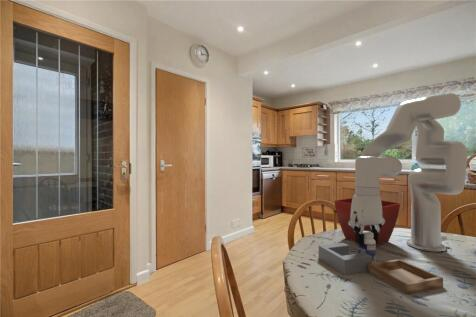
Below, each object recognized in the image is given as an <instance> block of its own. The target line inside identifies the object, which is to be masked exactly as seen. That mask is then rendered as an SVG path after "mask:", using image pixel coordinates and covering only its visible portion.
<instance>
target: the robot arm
mask: <svg viewBox="0 0 476 317" xmlns="http://www.w3.org/2000/svg"><path fill="white" fill-rule="evenodd" d="M461 106H462V102H461V99H460V97H459V96H458V95H457V94H455V93H452V92H450V93H445V94H444V93H443V94H437V95H431V96H424V97H421V98H420V97H419V98H415V99H411V100H406V101H403V102H401V103H400V104H398V106H397V107H396V108H395V111H394V113H393V115H392V116H391V118H390V121H389V122H388V125H387V127H386V129H385V130H384V131H383V132H382V133H380V134H379V135H378V136H376V137H375V138H373V140H371V141H370V142H369V143H368V144H367V145H366V146H365V148H364V149H363V150H362V153H361V155H360V156H358V157H357V156H356V158H355V163H354V164H355V166H354V167H355V168H354V171H355V172H354V173H355V174H354V176H355V177H354V179H355V180H354V182H355V185H354V186H355V187H354V188H355V189H354V195H353V196H352V198H353V199H352V204H351V215H350V221H349V222H348V224H349V225H350V226H351V227H352V229H353V230H354V232H356V242H355V243H356V245H358V244H359V245H361V246H364V234H362V233H363V230H364V226H365V225H370V227H371V230H370V232H372V233H373V235H374V237H373V239H374V240H375V241H376V244H378V232H380V228H381V227H382V225H383V224H384V223H385V220H384V218H383V217H382V203H381V200H382V198H381V194H380V193H381V187H380V184H381V183H380V181H381V178H394V177H396V176H398V175H399V174H400V173H401V172H402V169H403V163H402V162H401V161H400V159H399V158H397V157H396V156H393V155H392V156H391V155H382V154H383V153H385V152H387V151H389V150H390V149H391V150H392V149H393V148H396V147H399V146H401V145H403V144H405V143H408V141H409V140H410V139H411V137H412V135H413V133H414V131H415V129H416V130H417V138H416V139H417V140H416V150H415V160H416V162H417V163H418V164H420V165H423V166H440V167H443V166H445V168H433V167H432V168H430V167H429V168H427V167H425V168H423V167H421V168H415V169H413V170H411V171H410V172H409V174H408V176H407V181H408V188H409V191H410V238H408V239H407V240H406V245H408V246H410V247H412V248H415V249H418V250H423V251H426V252H432V253H433V252H434V253H435V252H437V253H441V251H443V252H445V251H446V250H447V247H446V245H445V244H443V243H442V242H445V241H448V237H447V236H446V235H441V233H442V225H441V224H442V223H441V222H442V219H441V218H442V217H441V215H442V214H441V213H442V212H441V211H442V205H441V202H440V200H439V197H438V196H437V195H436V194H440V195H449V196H450V195H451V196H452V195H453V196H454V195H455V196H456V195H459V194H461V193H462V192H463V190H464V188H465V186H466V178H467V177H466V176H467V166H468V150H467V147H466V145H465V144H464V143H463V142H460V141H458V140H447V141H445V129H444V127H443V126H442V124H441V123H439V122H438V121H437V120H439V119H444V118H448V117H453V116H455V115H456V114H458V112H459V111H460V110H461V108H462V107H461ZM380 177H381V178H380ZM355 223H356V224H355ZM359 226H360V229H359Z"/></svg>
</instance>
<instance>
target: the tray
mask: <svg viewBox="0 0 476 317" xmlns="http://www.w3.org/2000/svg"><path fill="white" fill-rule="evenodd" d="M367 273H369V274H370V275H371V276H374V277H376V278H377V279H379V280H381V281H382V282H385V283H387V284H389V285H391V286H392V287H393V288H396V289H397V290H399V291H401V292H403V293H404V294H406V295H411V294H416V293H421V292H424V291H425V292H426V291H430V290H435V289H439V288H443V287H444V277H443V276H440V275H437V274H436V273H433V272H431V271H428V270H426V269H423V268H421V267H419V266H416V265H415V264H412V263H409V262H407V261H405V260H403V259H398V258H397V259H393V260H386V261H380V262H375V263H371V264H368V271H367Z"/></svg>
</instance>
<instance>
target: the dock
mask: <svg viewBox="0 0 476 317" xmlns="http://www.w3.org/2000/svg"><path fill="white" fill-rule="evenodd" d="M349 252H350V245H349V244H347V243H344V242H338V243H336V242H335V243H329V244H328V243H327V244H319V245H318V259H319V260H321V261H323V263H325V264H327V265H329V266H330V267H332V269H335V271H338V272H340V273H341V274H343V275H344V276H347V275H352V274H353V275H354V274H358V273H364V272H368V264H371V263H372V256H371V255H368V254H366V253H359V254H358V253H351V254H350V253H349Z"/></svg>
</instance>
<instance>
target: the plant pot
mask: <svg viewBox="0 0 476 317" xmlns="http://www.w3.org/2000/svg"><path fill="white" fill-rule="evenodd" d="M352 199H353V197H349V198H344V199H343V198H342V199H336V200H334V207H335V211H336V215H337V219H338V223H339V225H340V228H341V231H342V234H343V236H344V238H345V239H347V240H350V241H353V242H355V243H356V232H354V230H353V229H352V227H351V226H350V225H349V224H348V222H349V221H350V215H351V204H352ZM381 203H382V217H383V218H384V220H385V223H384V224H383V225H382V227H381V228H380V232H378V244H376V246H379V245H382V244H385V243H388V242H389V241H390V239H391V236H392V235H393V232H394V229H395V227H396V224H397V220H398V217H399V212H400V208H401V207H400V206H401V203H400V202H396V201H395V202H394V201H389V200H388V201H387V200H382V199H381ZM355 224H356V223H355ZM359 229H360V226H359ZM370 230H371V227H370V225H365V226H364V230H363V231H369V232H370Z"/></svg>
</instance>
